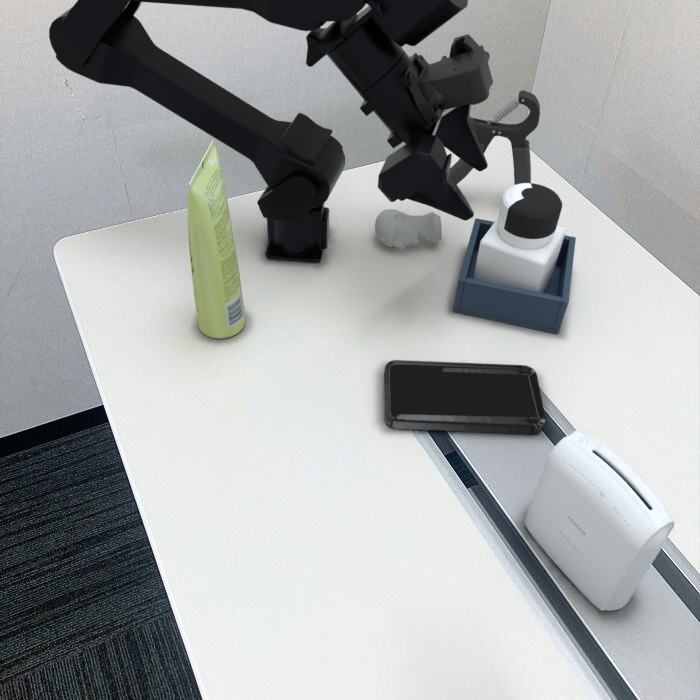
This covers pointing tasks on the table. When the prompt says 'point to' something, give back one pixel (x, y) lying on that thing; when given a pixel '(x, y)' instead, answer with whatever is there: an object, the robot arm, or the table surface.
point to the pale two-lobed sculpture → (407, 228)
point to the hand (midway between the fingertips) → (477, 192)
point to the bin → (514, 290)
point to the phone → (462, 397)
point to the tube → (213, 252)
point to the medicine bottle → (522, 239)
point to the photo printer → (597, 520)
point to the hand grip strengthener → (510, 131)
